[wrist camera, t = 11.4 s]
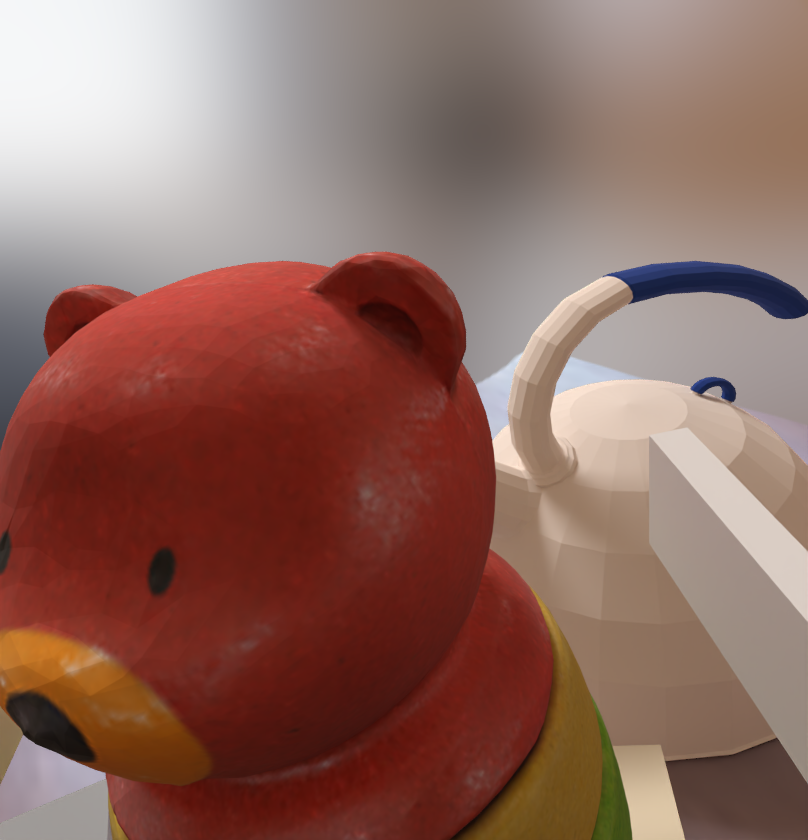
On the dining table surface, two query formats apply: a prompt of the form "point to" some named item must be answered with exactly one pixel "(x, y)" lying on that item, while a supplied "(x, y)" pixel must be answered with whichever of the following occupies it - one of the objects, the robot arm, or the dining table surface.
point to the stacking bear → (284, 571)
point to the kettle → (634, 514)
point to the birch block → (648, 793)
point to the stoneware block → (65, 818)
